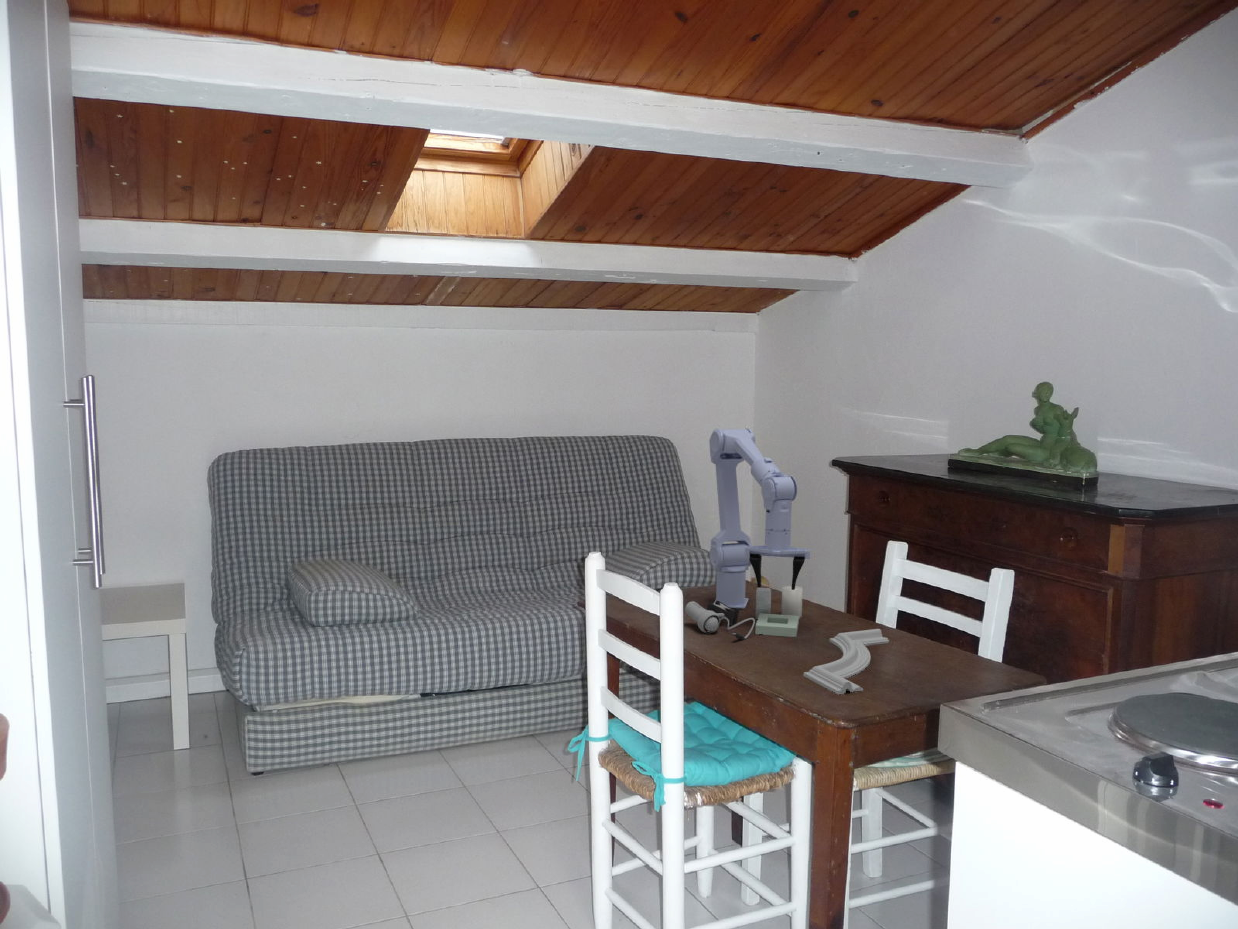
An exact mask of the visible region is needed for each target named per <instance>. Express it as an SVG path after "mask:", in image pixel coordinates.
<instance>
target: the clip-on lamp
mask: <svg viewBox="0 0 1238 929" xmlns="http://www.w3.org/2000/svg"><path fill="white" fill-rule="evenodd" d="M714 602H715V601H714ZM684 611H685V613H686V615H687V616H689V617H690V618H691V619H692V620H694V621H695V622H696V623H697V626H698V628H699V630H700V631H701V632H703V633H705V634H712V633H714V632H716V631H717V630H718V628H719V627H720V624H721V621H723V622H724V623H726V625H725V627H726V630H727V631H729V630H732V629H734V628H737V626H740V625H741V624H743V623H745V622H748V621H751V620H752V622H753V623H752V626H751V627H750V629H749V631H748V633H746V635H745V636H743V635H742V634H739V633H738V632H735V631H733V632H732V633H731V635H733V636H734V637H735V638H736V639H738V640H742V641H743V640H744V641H745V639H747V638H748V637H749V636H750V635H751V633H752V631H753V629H754V628H755V625H756V618H754V617H749V618H746V619H743V620H741V621H739V622H738V623H737V621H738V617H739V614H740V608H730V607H728V606H727V605H725V604H723V603H722V602H720V601H716V602H715V604H713V602H709V603H708V604H707V606H706V609H705V608H704V607H703V606H701V605H700V604H699V603H698V602H696V601H694V600H692V601H689V602H687V604H685V607H684ZM727 626H728V627H727ZM705 631H706V632H705ZM707 631H710V632H708V633H707Z"/></svg>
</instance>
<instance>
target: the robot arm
mask: <svg viewBox="0 0 1238 929" xmlns="http://www.w3.org/2000/svg"><path fill="white" fill-rule="evenodd" d="M708 444H709V456H710V462H711V463H712V464H714V465H715V476H716V490H717V502H718V516H719V528H720V530H719V531H718V533H717V534H716V533H715V535H714V536H713V537H712V538H711V539H710V548H709V549H710V550H709V561H710V564H711V565H712V567H713V569H715V570H716V595H715V596H716V597H715V601H714V602H712V604H715V602H716V601H720V602H722V603H723V604H725V605H727V606H728V607H730V608H732V609H734V608H738V609H746V608H747V603H748V602H749V597H746V581H747V580H746V577H747V576H746V574H747V572H746V571H749V568H750V567H751V566H752V570H753V572H754V576H755V578H756V579H755V580H756V586H757V588H762V561H763V560H762V558H763V557H775V558H776V557H778V558H779V557H780V558H791V559H792V558H793V559H792V578H791V579H792V580H791V586H792V590H795V586H796V584H797V580H798V576H799V573H800V572H801V570H802V567H803V566H804V564H805V560H810V557H811V548H800V547H793V546H791V534H792V533H791V532H792V528H791V527H792V504H793V501H795V500H796V498H797V495H798V484H797V480H796V479H795V478H794V476H793V475H787V474H783V472H782V471H781V470H780V468H779V467H778V466H777V465H776V463H775V462H774V461H773V459H772V458H771V457H765V456H763V454H762V453H761V451H760V450H759V448H758V447H757V445H756V435H755V434H754V431H752V430H751V428H749V427H748V428H735V429H734V428H730V429H729V428H728V429H727V428H724V429H720V428H715V429H714V430H713V431H712V432H711V435H710V438H709V442H708ZM744 461H745V462H746V463H747V464H748V465H749V466H750V474H751V476H752V477H753V479H754V480H755V481H756V482H757V484H758V485H759V486H760V487H761V491H760V492H761V496H762V499H763V500H762V501H763V508H764V509H765V529H764V534H765V535H764V545H752V542H751V537H750V536H749V535H748V534H747V533H746V532H744V531H743V530H742V528H741V518H740V516H741V515H740V504H739V492H738V491H739V490H738V480H737V467H738V465H739V464H740V463H743V462H744ZM725 542H732V543H725ZM734 542H735V543H734Z"/></svg>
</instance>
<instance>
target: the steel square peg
mask: <svg viewBox="0 0 1238 929" xmlns="http://www.w3.org/2000/svg"><path fill="white" fill-rule="evenodd" d="M755 594H756V595H755V620H756V619H758V617H759V614H760V613H763V614H771V605H772V604H771V603H772V602H771V601H772V599H771V598H772V588H769V587H761V588H758V587H757V588H756V590H755Z"/></svg>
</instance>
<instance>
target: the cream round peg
mask: <svg viewBox="0 0 1238 929" xmlns="http://www.w3.org/2000/svg"><path fill="white" fill-rule="evenodd" d="M803 591H804V590H803V587H802V586H800V585H795V590H792V584H791V585H783V586H782V587H781V612H780V613H781V614H780V615H792V616H799V619H801V618H803V616H802V614H803ZM800 617H801V618H800Z"/></svg>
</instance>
